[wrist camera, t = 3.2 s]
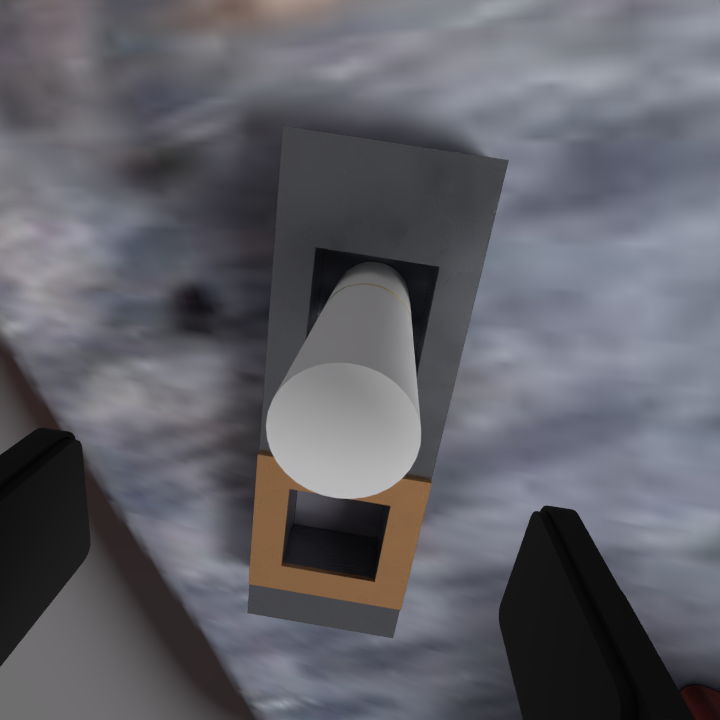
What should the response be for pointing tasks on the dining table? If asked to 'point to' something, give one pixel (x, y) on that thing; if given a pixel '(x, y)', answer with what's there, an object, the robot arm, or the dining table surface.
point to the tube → (351, 391)
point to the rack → (432, 354)
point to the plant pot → (702, 702)
